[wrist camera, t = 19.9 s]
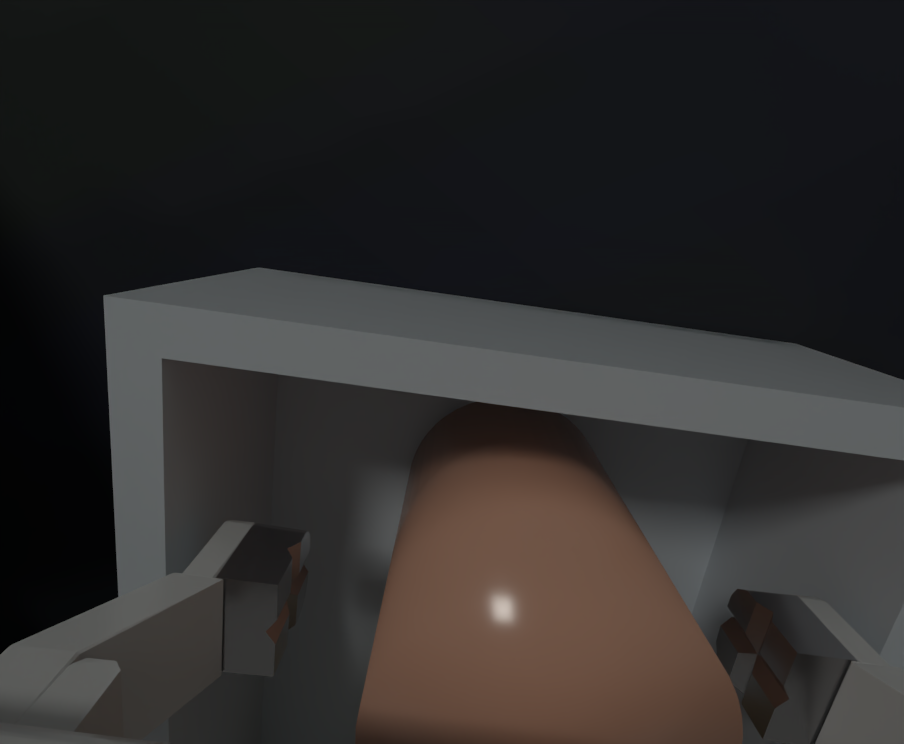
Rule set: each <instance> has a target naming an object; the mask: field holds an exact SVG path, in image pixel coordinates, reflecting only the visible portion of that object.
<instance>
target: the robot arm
mask: <svg viewBox="0 0 904 744" xmlns="http://www.w3.org/2000/svg"><path fill="white" fill-rule="evenodd" d="M309 552H310V533H309V531H305V530H299V529H292V528H286V527H280V526H273V525H267V524H260V523H257V524H256V523H254V522H246V521H239V520H228V521H226V522H224V523H223V525H222V526H221V527H220V528H219V529H218V531H217V532H216V533H215V534H214V535H213V537H212V538H211V539H210V540H209V542H208V543H207V544H206V545H205V546H204V548H203V549H202V550H201V551H200V552H199V554H198V555H197V556H196V557H195V559H194V560H193V561H192V562H191V563H190V565H189V566H188V567H187V568H186V569H185V571H184V572H183V573H182V574H181V573H172V574H169V575H167V576H165V577H163V578H160V579H158V580H156V581H154V582H151V583H149V584H147V585H145V586H142V587H140V588H138V589H136V590H133V591H131V592H129V593H127V594H124V595H122V596H120V597H118V598H115V599H113V600H111V601H109V602H106V603H104V604H102V605H100V606H97V607H95V608H93V609H91V610H88V611H86V612H84V613H82V614H79V615H77V616H75V617H73V618H70V619H68V620H66V621H64V622H61V623H59V624H57V625H55V626H52V627H50V628H48V629H46V630H43V631H41V632H39V633H37V634H34V635H32V636H30V637H28V638H25V639H23V640H21V641H19V642H16V643H14V644H12V645H10V646H9V647H8V648H7V649H6V650H5V651H4V652H3V653H2V654H0V744H171V743H163V742H154V741H146V740H142V739H143V738H144V737H146V736H147V735H148V734H149V733H151V732H152V731H153V730H154V729H156V728H157V727H158V726H159V725H160V724H162V723H163V722H164V721H165V720H167V719H168V718H169V717H170V716H172V715H173V714H174V713H175V712H177V711H178V710H179V709H180V708H182V707H183V706H184V705H185V704H186V703H188V702H189V701H190V700H191V699H193V698H194V697H195V696H196V695H198V694H199V693H200V692H201V691H203V690H204V689H205V688H206V687H208V686H209V685H210V684H211V683H212V682H214V681H215V680H216V679H217V678H219V677H220V676H221V675H222V672H227V673H238V674H248V675H258V676H269V677H274V674H275V672H276V670H277V667H278V665H279V663H280V660H281V658H282V656H283V653H284V651H285V649H286V647H287V640H288V630H289V629H290V628H292V627H293V626H295V625H296V623H297V620H298V618H299V615H300V613H301V609H302V606H303V602H304V599H305V594H306V588H307V581H308V570H307V569H306V567H305V566H304V562H305V560H306V558H307V556H308V554H309ZM727 607H728V609H729V611H730V614H731V616H732V617H731V618H730V619H728V620H727V621H726V622H725V623H723V624H722V625H721V626H720V629H719V633H718V636H717V639H716V647H717V657H718V659H719V660H720V662H721V664H722V665H723V667H724V668H725V670H726V672H727V673H728V675H729V677H730V679H731V681H732V684H733V686H735V687H736V688H737V689H738V690H740V691H741V692H742V693H743V696H742V701H741V704H742V706H743V707H744V709H745V711H746V712H747V714H748V716H749V717H750V719H751V721H752V722H753V724H754V726H755V727H756V729H757V731H758V732H759V734H760V736H761V737H762V739H764V740H770V741H777V742H783V743H789V744H904V670H903V669H901V668H899V667H893V666H890V665H889V664H888V663H887V662H886V661H885V660H884V659H883V658H882V657H881V656H880V655H879V654H878V653H877V652H876V651H875V650H874V649H873V648H872V647H871V646H870V645H869V644H868V643H867V642H866V641H865V640H864V639H863V638H862V637H861V636H860V635H859V634H858V633H857V632H856V631H855V630H854V629H853V628H852V627H851V626H850V625H849V624H848V623H847V622H846V621H845V620H844V619H843V618H842V617H841V616H840V615H839V614H838V613H837V612H836V611H835V610H834V609H833V608H832V607H831V606H830V605H829V604H828V603H827V602H826V601H824V600H822V599H820V598H818V597H812V596H802V595H792V594H790V595H786V594H778V593H770V592H761V591H753V590H744V589H737V590H736V591H735V592H734V593H733V594H732V595H731V597H730V600H729V603H728V605H727Z"/></svg>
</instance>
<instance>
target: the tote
mask: <svg viewBox="0 0 904 744" xmlns="http://www.w3.org/2000/svg"><path fill="white" fill-rule="evenodd" d="M103 297H104V317H105V337H106V357H107V377H108V397H109V417H110V437H111V457H112V477H113V497H114V517H115V537H116V557H117V577H118V597H120V596H122V595H124V594H127V593H129V592H131V591H133V590H136V589H138V588H140V587H142V586H145V585H147V584H149V583H151V582H154V581H156V580H158V579H160V578H163V577H165V576H167V575H169V574H172V573H181V574H182V573H183V572H184V571H185V569H186V568H187V567H188V566H189V565H190V563H191V562H192V561H193V560H194V559H195V557H196V556H197V555H198V554H199V552H200V551H201V550H202V549H203V548H204V546H205V545H206V544H207V543H208V542H209V540H210V539H211V538H212V537H213V535H214V534H215V533H216V532H217V531H218V529H219V528H220V527H221V526H222V525H223V523H224V522H226V521H228V520H239V521H246V522H254V523H256V524H257V523H260V524H267V525H273V526H280V527H286V528H292V529H299V530H305V531H309V533H310V552H309V554H308V556H307V558H306V560H305V562H304V566H305V567H306V569H307V570H308V581H307V588H306V594H305V599H304V602H303V606H302V609H301V613H300V615H299V618H298V620H297V623H296V625H295V626H293V627H292V628H290V629H289V630H288V640H287V647H286V649H285V651H284V653H283V656H282V658H281V660H280V663H279V665H278V667H277V670H276V672H275V674H274V677H269V676H258V675H248V674H238V673H227V672H222V675H221V676H220V677H219V678H217V679H216V680H215V681H214V682H212V683H211V684H210V685H209V686H208V687H206V688H205V689H204V690H203V691H201V692H200V693H199V694H198V695H196V696H195V697H194V698H193V699H191V700H190V701H189V702H188V703H186V704H185V705H184V706H183V707H182V708H180V709H179V710H178V711H177V712H175V713H174V714H173V715H172V716H170V717H169V718H168V719H167V720H165V721H164V722H163V723H162V724H160V725H159V726H158V727H157V728H156V729H154V730H153V731H152V732H151V733H149V734H148V735H147V736H146V737H144V738H143V739H142V740H146V741H154V742H163V743H171V744H355V732H356V722H357V717H358V713H359V708H360V703H361V698H362V693H363V689H364V684H365V679H366V675H367V670H368V665H369V661H370V656H371V651H372V647H373V642H374V637H375V633H376V628H377V623H378V619H379V614H380V609H381V604H382V600H383V595H384V590H385V586H386V581H387V576H388V572H389V567H390V562H391V558H392V553H393V548H394V544H395V539H396V534H397V530H398V525H399V520H400V516H401V511H402V506H403V501H404V497H405V492H406V487H407V483H408V478H409V473H410V469H411V464H412V461H413V458H414V455H415V453H416V451H417V449H418V447H419V445H420V443H421V441H422V440H423V439H424V437H425V436H426V434H427V433H428V432H429V431H430V430H431V429H432V428H433V427H434V426H435V424H436V423H438V422H439V421H440V420H441V419H443V418H444V417H445V416H446V415H448V414H450V413H451V412H453V411H455V410H456V409H458V408H461V407H463V406H465V405H467V404H470V403H473V402H483V403H490V404H497V405H505V406H512V407H519V408H527V409H534V410H541V411H548V412H556V413H560V414H562V415H563V416H565V417H566V418H568V419H569V420H570V421H571V422H572V423H573V424H574V425H575V426H576V427H577V428H578V429H579V430H580V431H581V433H582V434H583V435H584V437H585V438H586V440H587V441H588V443H589V445H590V446H591V448H592V450H593V451H594V453H595V455H596V456H597V458H598V460H599V461H600V463H601V465H602V466H603V468H604V469H605V471H606V473H607V474H608V476H609V478H610V479H611V481H612V483H613V484H614V486H615V488H616V489H617V491H618V493H619V494H620V496H621V498H622V499H623V501H624V503H625V504H626V506H627V508H628V509H629V511H630V513H631V514H632V516H633V518H634V519H635V521H636V523H637V524H638V526H639V528H640V529H641V531H642V533H643V534H644V536H645V537H646V539H647V541H648V542H649V544H650V546H651V547H652V549H653V551H654V552H655V554H656V556H657V557H658V559H659V561H660V562H661V564H662V566H663V567H664V569H665V571H666V572H667V574H668V576H669V577H670V579H671V581H672V582H673V584H674V586H675V587H676V589H677V591H678V592H679V594H680V596H681V597H682V599H683V601H684V602H685V604H686V605H687V607H688V609H689V610H690V612H691V614H692V615H693V617H694V619H695V620H696V622H697V624H698V625H699V627H700V629H701V630H702V632H703V634H704V635H705V637H706V639H707V640H708V642H709V644H710V645H711V647H712V649H713V650H714V652H715V654H716V655H717V647H716V639H717V636H718V633H719V629H720V626H721V625H722V624H723V623H725V622H726V621H727V620H728V619H730V618H731V617H732V616H731V614H730V611H729V609H728V607H727V605H728V603H729V600H730V597H731V595H732V594H733V593H734V592H735V591H736V590H737V589H744V590H753V591H761V592H770V593H778V594H786V595H790V594H792V595H802V596H812V597H818V598H820V599H822V600H824V601H826V602H827V603H828V604H829V605H830V606H831V607H832V608H833V609H834V610H835V611H836V612H837V613H838V614H839V615H840V616H841V617H842V618H843V619H844V620H845V621H846V622H847V623H848V624H849V625H850V626H851V627H852V628H853V629H854V630H855V631H856V632H857V633H858V634H859V635H860V636H861V637H862V638H863V639H864V640H865V641H866V642H867V643H868V644H869V645H870V646H871V647H872V648H873V649H874V650H875V651H876V652H877V653H878V654H879V655H880V656H881V657H882V658H883V659H884V660H885V661H886V662H887V663H888V664H889V665H890V666H893V667H899V668H901V669H903V670H904V380H902V379H899V378H896V377H893V376H890V375H887V374H884V373H881V372H878V371H875V370H872V369H869V368H866V367H863V366H860V365H857V364H854V363H851V362H848V361H845V360H842V359H839V358H836V357H833V356H831V355H828V354H825V353H822V352H819V351H816V350H813V349H810V348H807V347H804V346H801V345H798V344H794V343H787V342H780V341H773V340H766V339H759V338H752V337H745V336H738V335H731V334H724V333H717V332H710V331H703V330H696V329H689V328H681V327H674V326H667V325H660V324H653V323H646V322H639V321H632V320H625V319H618V318H611V317H604V316H597V315H590V314H583V313H576V312H569V311H562V310H555V309H548V308H540V307H533V306H526V305H519V304H512V303H505V302H498V301H491V300H484V299H477V298H470V297H463V296H456V295H449V294H442V293H435V292H428V291H421V290H414V289H407V288H399V287H392V286H385V285H378V284H371V283H364V282H357V281H350V280H343V279H336V278H329V277H322V276H315V275H308V274H301V273H294V272H287V271H280V270H273V269H265V268H253V269H248V270H242V271H237V272H231V273H226V274H220V275H214V276H209V277H203V278H198V279H192V280H187V281H181V282H176V283H170V284H165V285H159V286H154V287H148V288H143V289H137V290H132V291H126V292H121V293H115V294H109V295H104V296H103ZM734 689H735V691H736V693H737V696H738V700H739V704H740V709H741V713H742V723H743V740H742V744H789V743H783V742H777V741H770V740H764V739H762V737H761V736H760V734H759V732H758V731H757V729H756V727H755V726H754V724H753V722H752V721H751V719H750V717H749V716H748V714H747V712H746V711H745V709H744V707H743V706H742V704H741V701H742V696H743V693H742V692H741V691H740V690H738V689H737V688H736V687H735V686H734Z"/></svg>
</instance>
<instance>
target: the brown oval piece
mask: <svg viewBox="0 0 904 744" xmlns="http://www.w3.org/2000/svg"><path fill="white" fill-rule="evenodd" d="M742 740H743V723H742V713H741V709H740V704H739V700H738V696H737V693H736V691H735V689H734V686H733V684H732V681H731V679H730V677H729V675H728V673H727V672H726V670H725V668H724V667H723V665H722V664H721V662H720V660H719V659H718V657H717V655H716V654H715V652H714V650H713V649H712V647H711V645H710V644H709V642H708V640H707V639H706V637H705V635H704V634H703V632H702V630H701V629H700V627H699V625H698V624H697V622H696V620H695V619H694V617H693V615H692V614H691V612H690V610H689V609H688V607H687V605H686V604H685V602H684V601H683V599H682V597H681V596H680V594H679V592H678V591H677V589H676V587H675V586H674V584H673V582H672V581H671V579H670V577H669V576H668V574H667V572H666V571H665V569H664V567H663V566H662V564H661V562H660V561H659V559H658V557H657V556H656V554H655V552H654V551H653V549H652V547H651V546H650V544H649V542H648V541H647V539H646V537H645V536H644V534H643V533H642V531H641V529H640V528H639V526H638V524H637V523H636V521H635V519H634V518H633V516H632V514H631V513H630V511H629V509H628V508H627V506H626V504H625V503H624V501H623V499H622V498H621V496H620V494H619V493H618V491H617V489H616V488H615V486H614V484H613V483H612V481H611V479H610V478H609V476H608V474H607V473H606V471H605V469H604V468H603V466H602V465H601V463H600V461H599V460H598V458H597V456H596V455H595V453H594V451H593V450H592V448H591V446H590V445H589V443H588V441H587V440H586V438H585V437H584V435H583V434H582V433H581V431H580V430H579V429H578V428H577V427H576V426H575V425H574V424H573V423H572V422H571V421H570V420H569V419H568V418H566V417H565V416H563V415H562V414H560V413H556V412H548V411H541V410H534V409H527V408H519V407H512V406H505V405H497V404H490V403H483V402H473V403H470V404H467V405H465V406H463V407H461V408H458V409H456V410H455V411H453V412H451V413H450V414H448V415H446V416H445V417H444V418H443V419H441V420H440V421H439V422H438V423H436V424H435V426H434V427H433V428H432V429H431V430H430V431H429V432H428V433H427V434H426V436H425V437H424V439H423V440H422V441H421V443H420V445H419V447H418V449H417V451H416V453H415V455H414V458H413V461H412V464H411V469H410V473H409V478H408V483H407V487H406V492H405V497H404V501H403V506H402V511H401V516H400V520H399V525H398V530H397V534H396V539H395V544H394V548H393V553H392V558H391V562H390V567H389V572H388V576H387V581H386V586H385V590H384V595H383V600H382V604H381V609H380V614H379V619H378V623H377V628H376V633H375V637H374V642H373V647H372V651H371V656H370V661H369V665H368V670H367V675H366V679H365V684H364V689H363V693H362V698H361V703H360V708H359V713H358V717H357V722H356V732H355V744H742Z"/></svg>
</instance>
